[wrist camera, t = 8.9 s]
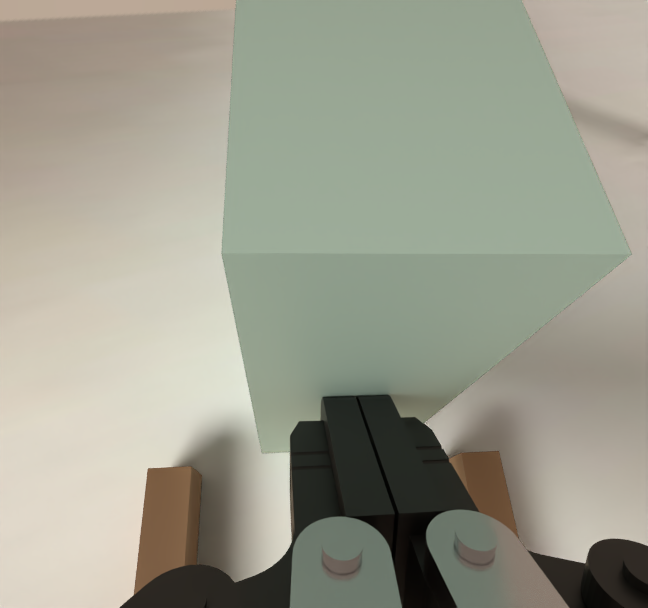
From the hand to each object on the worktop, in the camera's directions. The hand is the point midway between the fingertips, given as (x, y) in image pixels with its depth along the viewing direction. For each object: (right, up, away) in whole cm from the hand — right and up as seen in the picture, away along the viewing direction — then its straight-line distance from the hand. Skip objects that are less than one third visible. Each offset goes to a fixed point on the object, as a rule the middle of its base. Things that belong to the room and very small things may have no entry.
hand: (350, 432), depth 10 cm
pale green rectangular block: (-1, +6, +9) cm, 11 cm away
